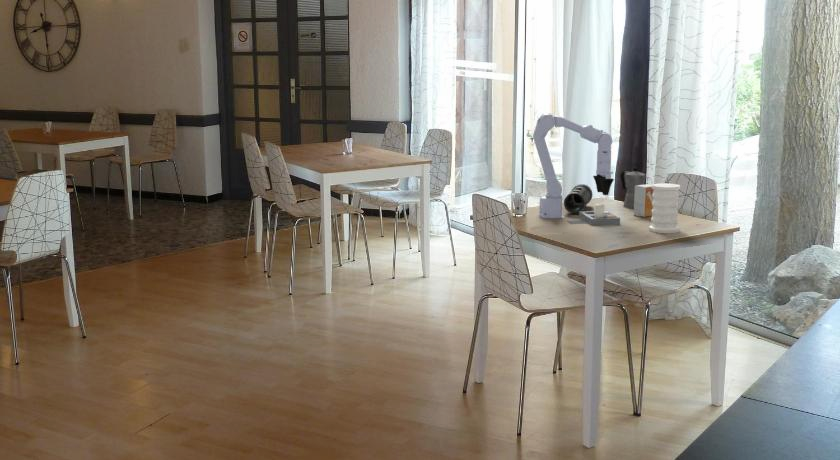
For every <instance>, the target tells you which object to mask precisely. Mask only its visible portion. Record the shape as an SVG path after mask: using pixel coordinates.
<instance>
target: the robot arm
mask: <svg viewBox="0 0 840 460" xmlns="http://www.w3.org/2000/svg"><path fill="white" fill-rule="evenodd" d="M562 127H563V128H565V129H568V130H570V131H573V132H575V133H578V134H579V135H580V138H582V139H584V140H587V141H589V142H591V143H592V144H593V143H594V144H597V153H596V169H595V174H596V175H593V176H592V177H593V179H594V181H595V186H596V187H595V188H596V191H597V193H602V195H603V196H608V195H609V193H610V189H611V186H612V183H613V182H614V181H615V180H614V178H612V174H614V171H611V167H612V166H611V165H612V164H611V163H612V144H613V142H614V141H613V138H612V136H611V135H610V134H609V132H606V131H604V130H602V129H598V128H595V127H594V126H593V125H592V124H589V125H588V124H585V125H583V126H582V125H581V124H578V123H576V122H573V121H571V120H570V119H567V118H565V117H562V116H559V115H556V114H551V113H550V112H549V113H548V112H545V113H541V115H540V117H538V119H537V121H536V125H535V127H534V132H533V134H532V138H533V142H534V145H535V147H536V151H537V154H538V158H539V161H540V164H541V168H542V171H543V174H544V177H545V180H546V186H545V187H546V191H547V193H546V194H545V196H541V197H540V198H539V206H538V208H539V209H538V210H539V212H538V213H539V214H538V216H539V217H541V218H542V219H561V218H563V219H564V218H566V217H565V216H564V215H563V194H562V193H563V187H562V184H561V182H560V181H559V180H558V178H557V175H556V172H555V168H554V164H553V162H552V159H551V158H552V157H551V155H550V152H549V148H548V145H547V142H546V136H547V135H548V133H549V131H551V130H552V129H553V128H562Z"/></svg>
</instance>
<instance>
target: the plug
mask: <svg viewBox="0 0 840 460" xmlns="http://www.w3.org/2000/svg"><path fill="white" fill-rule="evenodd" d="M593 205H594V206H593V211H594V218H604V211H605V204H603V203H596V204H593Z"/></svg>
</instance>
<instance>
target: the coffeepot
mask: <svg viewBox="0 0 840 460" xmlns="http://www.w3.org/2000/svg"><path fill="white" fill-rule="evenodd" d="M619 177H620V180H621V186H622V189H624V190H626V193H625V195H624V196H625V197H624V202H623V208H626V209H634V195H635V186H638V185H645V181H646V178H647V174H646V173H643V172H640V171H638V167H636V166H635V167H633V171H626V170H622V172H621V173H620V176H619Z"/></svg>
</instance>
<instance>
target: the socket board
mask: <svg viewBox="0 0 840 460" xmlns="http://www.w3.org/2000/svg"><path fill="white" fill-rule="evenodd" d="M578 217H579V218H580V220H583V221H584V222H586V223H587V224H589V225H590V226H604V225H605V226H610V225H611V226H612V225H616V226H617V225H621V218H620V217H618V216H617V215H615V214H613V213H612V212H610V211H608V210H604V218H594V210H585V211H584V210H582V211H579V213H578Z"/></svg>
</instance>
